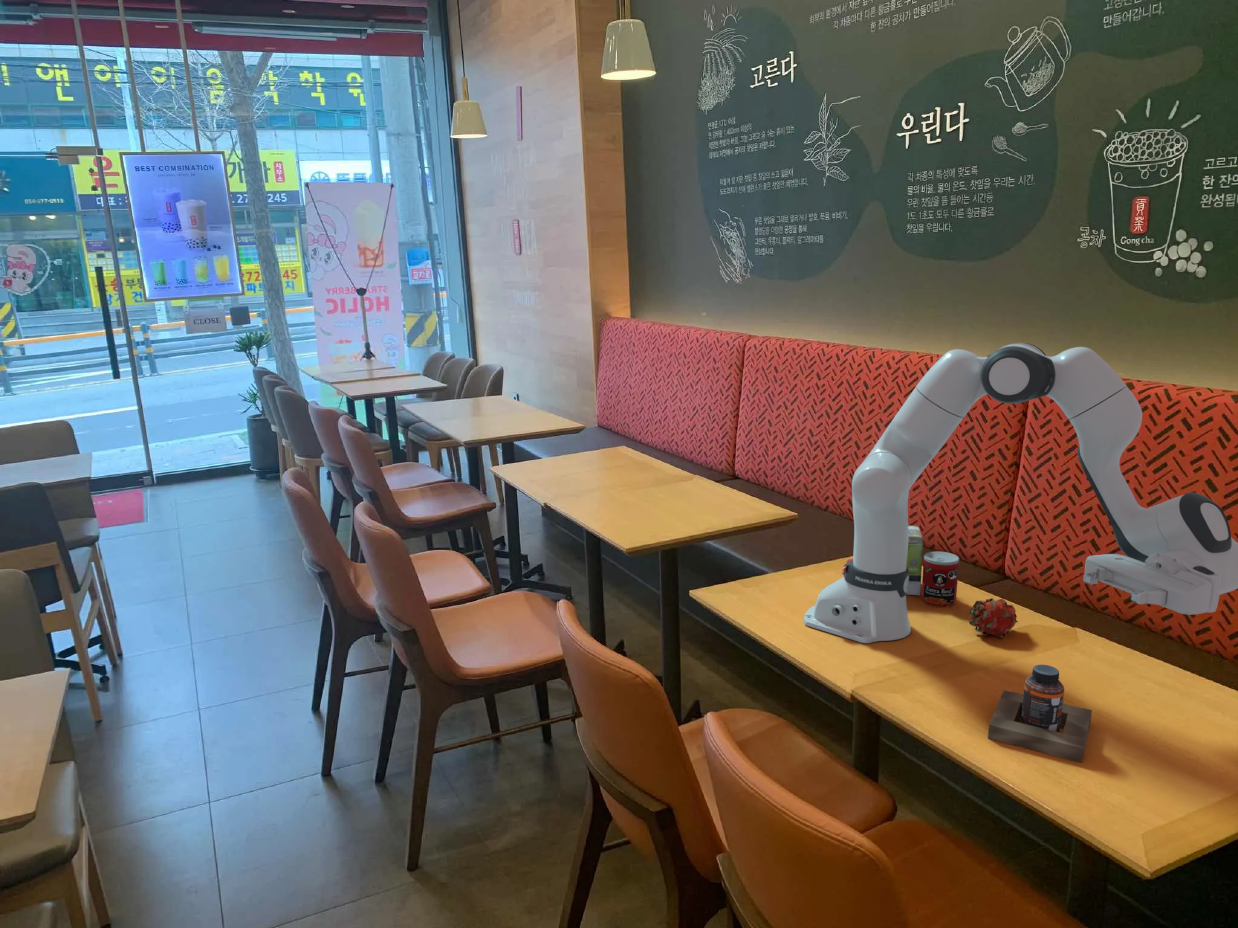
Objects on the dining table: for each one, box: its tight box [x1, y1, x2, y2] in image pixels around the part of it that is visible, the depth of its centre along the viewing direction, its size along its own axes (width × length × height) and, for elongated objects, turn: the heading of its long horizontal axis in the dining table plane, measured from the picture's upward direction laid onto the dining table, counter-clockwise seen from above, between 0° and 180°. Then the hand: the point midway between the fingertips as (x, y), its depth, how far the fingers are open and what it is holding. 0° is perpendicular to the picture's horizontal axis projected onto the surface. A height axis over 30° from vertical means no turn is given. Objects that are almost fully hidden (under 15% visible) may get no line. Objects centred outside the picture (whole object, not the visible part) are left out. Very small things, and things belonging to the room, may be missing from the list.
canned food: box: [920, 550, 960, 608], centre depth 202 cm, size 8×8×11 cm
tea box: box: [906, 525, 924, 596], centre depth 211 cm, size 15×10×15 cm
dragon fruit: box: [968, 597, 1019, 639], centre depth 185 cm, size 8×8×12 cm
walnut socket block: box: [987, 689, 1093, 764], centre depth 147 cm, size 14×14×2 cm
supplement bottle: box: [1020, 664, 1065, 732], centre depth 146 cm, size 6×6×11 cm
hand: (1110, 588), depth 146 cm, fingers open, 8 cm apart
